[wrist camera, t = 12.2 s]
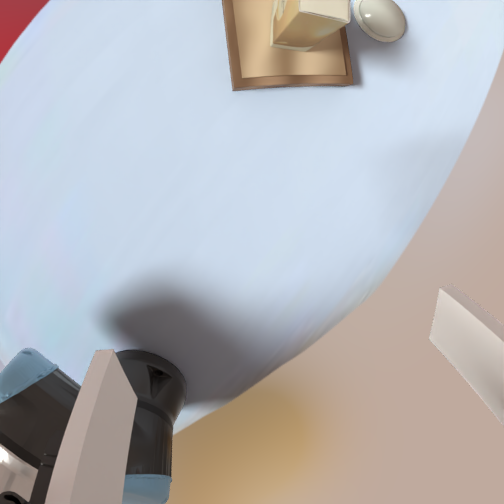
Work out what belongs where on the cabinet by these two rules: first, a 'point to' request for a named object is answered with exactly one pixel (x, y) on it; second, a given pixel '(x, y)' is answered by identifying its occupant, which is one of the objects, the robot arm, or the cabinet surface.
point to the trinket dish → (380, 19)
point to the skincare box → (306, 22)
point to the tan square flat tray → (279, 52)
